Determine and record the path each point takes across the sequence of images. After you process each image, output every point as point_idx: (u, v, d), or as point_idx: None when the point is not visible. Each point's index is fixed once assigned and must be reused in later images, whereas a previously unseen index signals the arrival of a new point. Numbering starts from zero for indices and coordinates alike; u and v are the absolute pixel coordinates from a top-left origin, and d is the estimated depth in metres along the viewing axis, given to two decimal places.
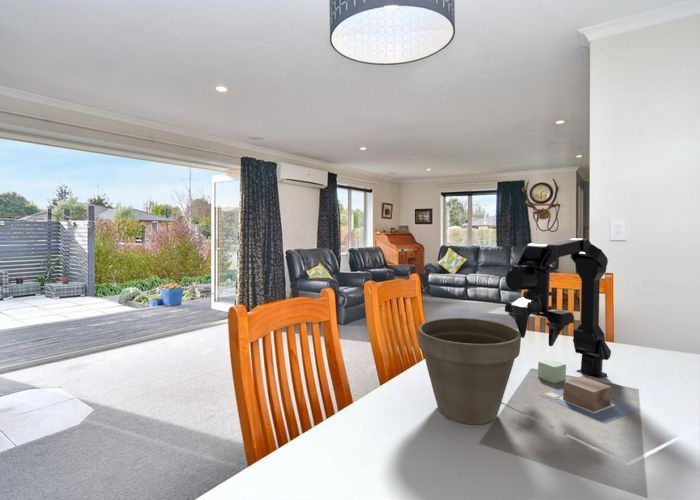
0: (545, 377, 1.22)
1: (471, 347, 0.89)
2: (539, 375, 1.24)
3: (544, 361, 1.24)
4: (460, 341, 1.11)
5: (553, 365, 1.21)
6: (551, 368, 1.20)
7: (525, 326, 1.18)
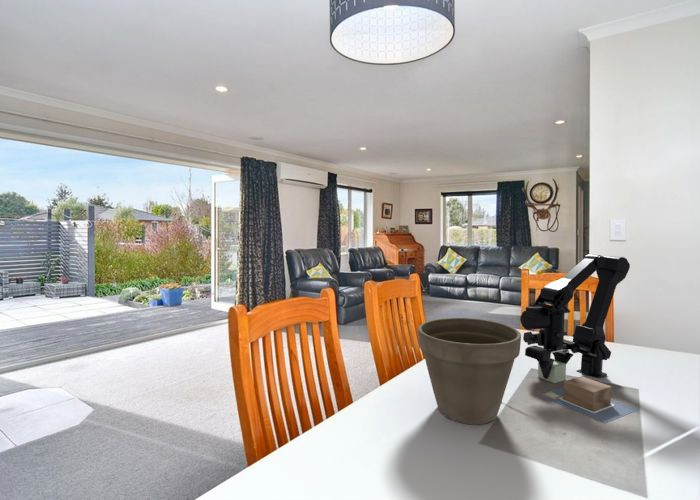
0: None
1: (471, 347, 0.89)
2: (539, 375, 1.24)
3: None
4: (460, 341, 1.11)
5: (553, 365, 1.21)
6: (551, 368, 1.20)
7: None
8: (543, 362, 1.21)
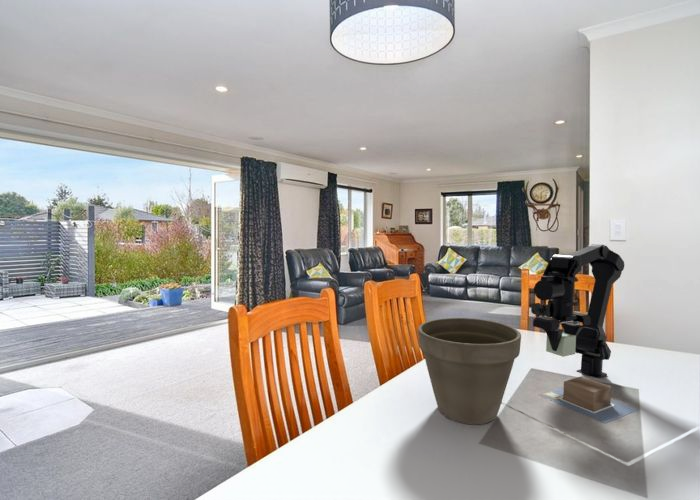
0: None
1: (471, 347, 0.89)
2: (547, 347, 1.19)
3: None
4: (460, 341, 1.11)
5: (562, 336, 1.15)
6: (560, 339, 1.15)
7: None
8: (552, 333, 1.16)
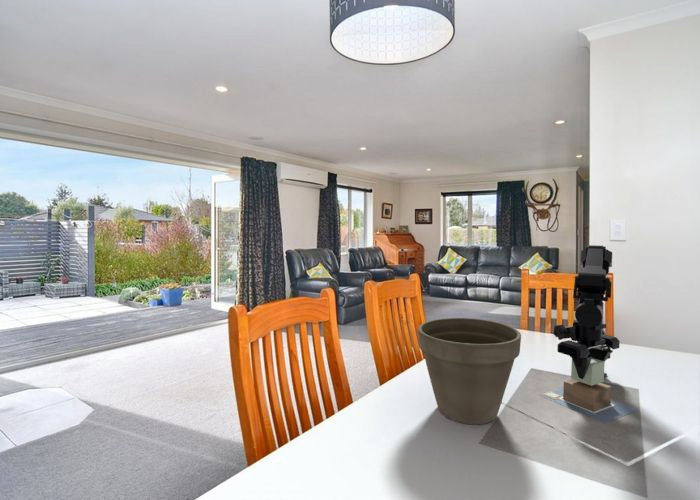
0: None
1: (471, 347, 0.89)
2: (573, 374, 1.07)
3: None
4: (460, 341, 1.11)
5: (590, 362, 1.04)
6: None
7: None
8: (578, 360, 1.04)
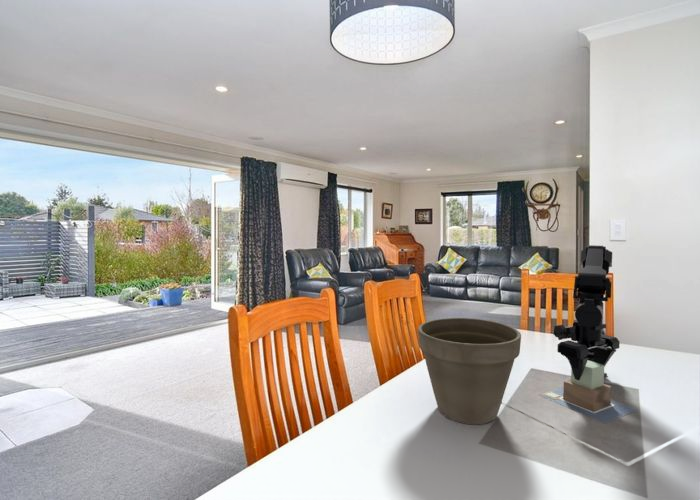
0: (580, 380, 1.05)
1: (471, 347, 0.89)
2: (573, 378, 1.07)
3: None
4: (460, 341, 1.11)
5: (590, 366, 1.04)
6: (588, 370, 1.03)
7: (602, 363, 1.07)
8: (574, 361, 1.03)
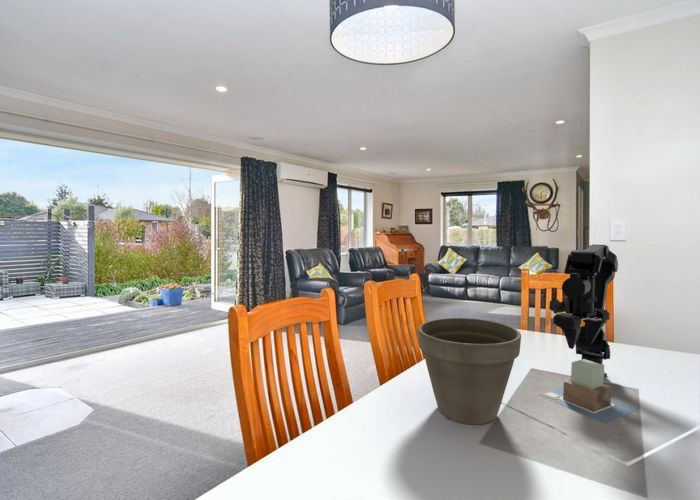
0: (580, 380, 1.05)
1: (471, 347, 0.89)
2: (573, 378, 1.07)
3: (578, 361, 1.07)
4: (460, 341, 1.11)
5: (590, 366, 1.04)
6: (588, 370, 1.03)
7: (593, 333, 1.17)
8: (569, 331, 1.13)
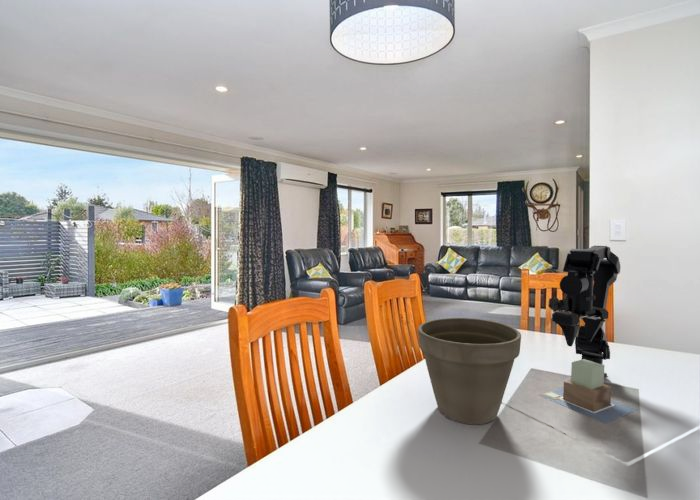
0: (580, 380, 1.05)
1: (471, 347, 0.89)
2: (573, 378, 1.07)
3: (578, 361, 1.07)
4: (460, 341, 1.11)
5: (590, 366, 1.04)
6: (588, 370, 1.03)
7: (592, 332, 1.18)
8: (567, 329, 1.14)
